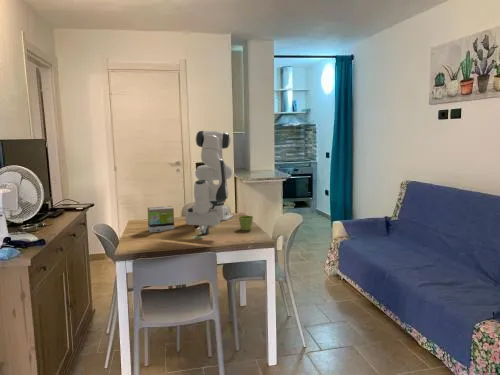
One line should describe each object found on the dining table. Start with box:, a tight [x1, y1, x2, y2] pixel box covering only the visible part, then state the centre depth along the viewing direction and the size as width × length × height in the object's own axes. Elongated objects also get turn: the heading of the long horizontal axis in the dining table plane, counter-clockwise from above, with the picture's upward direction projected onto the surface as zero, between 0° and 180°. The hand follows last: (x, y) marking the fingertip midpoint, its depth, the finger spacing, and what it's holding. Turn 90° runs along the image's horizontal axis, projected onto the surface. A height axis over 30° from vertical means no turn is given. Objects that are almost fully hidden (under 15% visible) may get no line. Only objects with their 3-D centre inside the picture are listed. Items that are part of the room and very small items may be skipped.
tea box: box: [147, 205, 175, 233], centre depth 253 cm, size 15×10×15 cm, turn 112°
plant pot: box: [237, 215, 254, 231], centre depth 247 cm, size 9×9×9 cm
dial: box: [191, 233, 223, 240], centre depth 238 cm, size 25×25×1 cm
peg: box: [194, 225, 210, 236], centre depth 232 cm, size 15×5×5 cm, turn 164°
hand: (203, 232), depth 228 cm, fingers closed
